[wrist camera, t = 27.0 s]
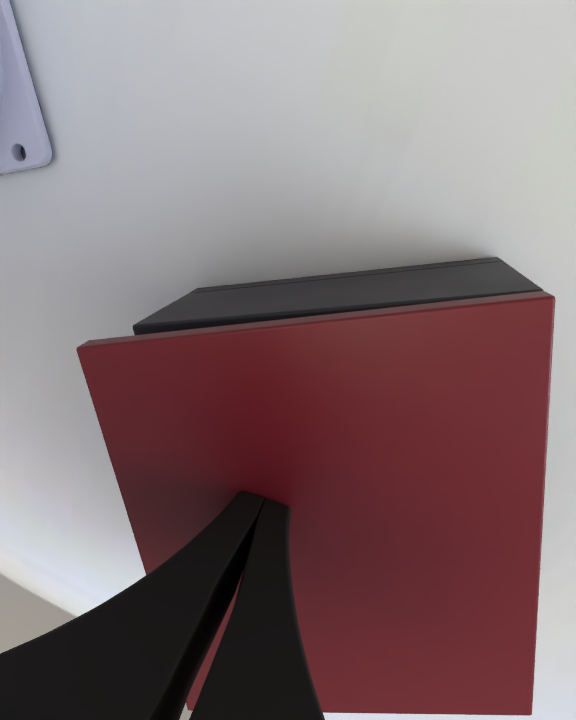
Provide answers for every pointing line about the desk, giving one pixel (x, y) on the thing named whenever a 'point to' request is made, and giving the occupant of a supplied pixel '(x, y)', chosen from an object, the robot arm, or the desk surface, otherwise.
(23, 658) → the robot arm
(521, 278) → the case
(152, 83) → the desk surface
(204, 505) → the cover
